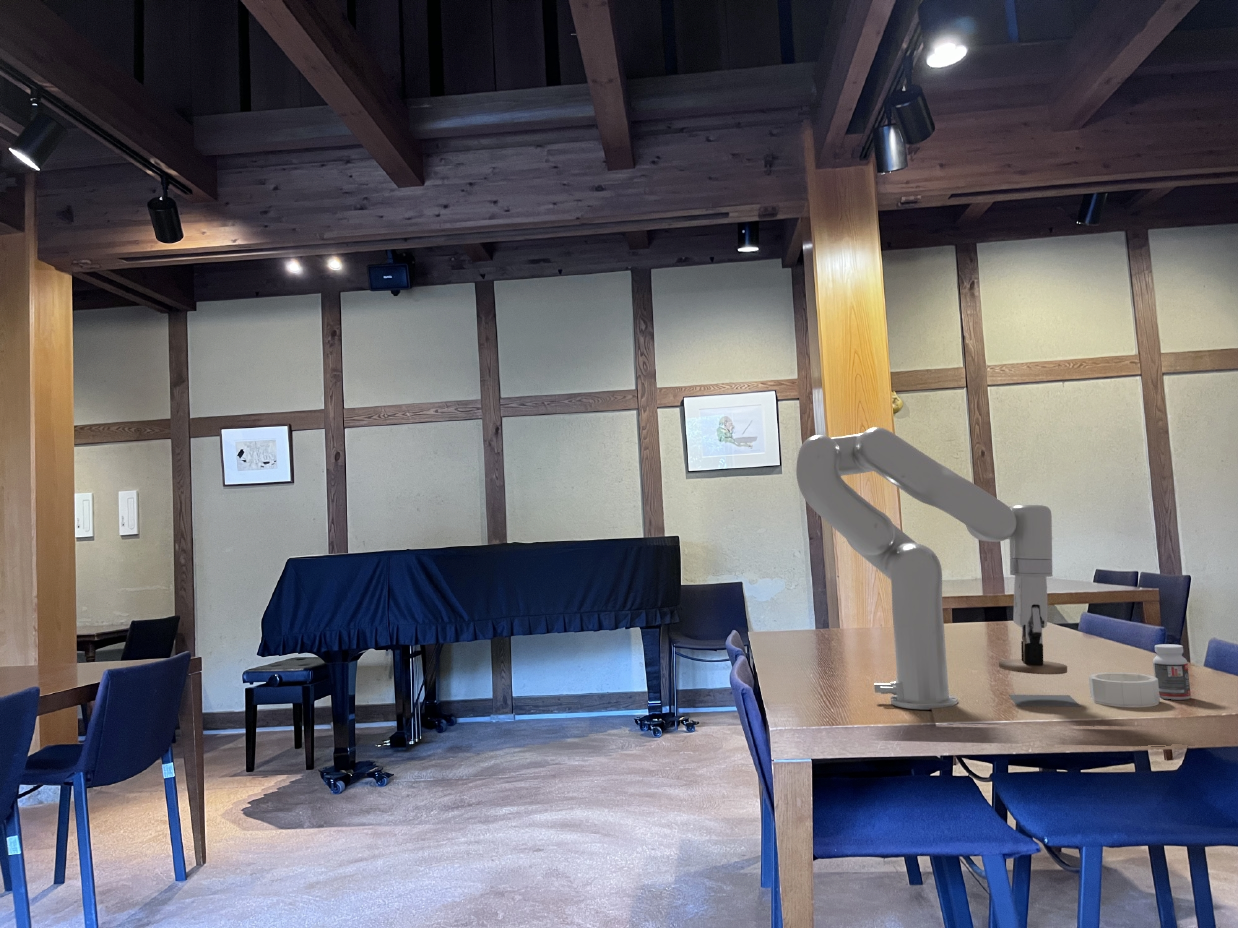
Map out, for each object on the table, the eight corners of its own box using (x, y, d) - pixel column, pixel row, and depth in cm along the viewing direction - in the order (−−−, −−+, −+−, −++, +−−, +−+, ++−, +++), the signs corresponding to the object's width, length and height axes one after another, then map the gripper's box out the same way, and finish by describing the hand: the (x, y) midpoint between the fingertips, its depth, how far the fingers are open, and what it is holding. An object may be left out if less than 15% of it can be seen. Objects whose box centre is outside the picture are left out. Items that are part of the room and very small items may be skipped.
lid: (1003, 671, 167) (1002, 639, 167) (995, 662, 178) (995, 632, 179) (1073, 676, 163) (1072, 643, 164) (1060, 666, 175) (1060, 635, 175)
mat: (1017, 708, 166) (1016, 705, 166) (1009, 697, 177) (1008, 694, 177) (1081, 709, 163) (1081, 706, 163) (1069, 698, 174) (1069, 695, 174)
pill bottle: (1196, 700, 167) (1191, 647, 167) (1163, 700, 168) (1158, 647, 169) (1183, 694, 172) (1178, 643, 173) (1151, 695, 173) (1146, 643, 174)
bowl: (1099, 709, 162) (1097, 682, 163) (1086, 698, 173) (1084, 672, 173) (1167, 710, 159) (1164, 682, 160) (1149, 698, 170) (1147, 672, 170)
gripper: (1004, 565, 181) (1005, 656, 180) (1016, 569, 165) (1017, 668, 164) (1044, 566, 179) (1045, 658, 178) (1060, 570, 163) (1061, 671, 162)
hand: (1032, 662), depth 171 cm, fingers closed on lid, 3 cm apart
